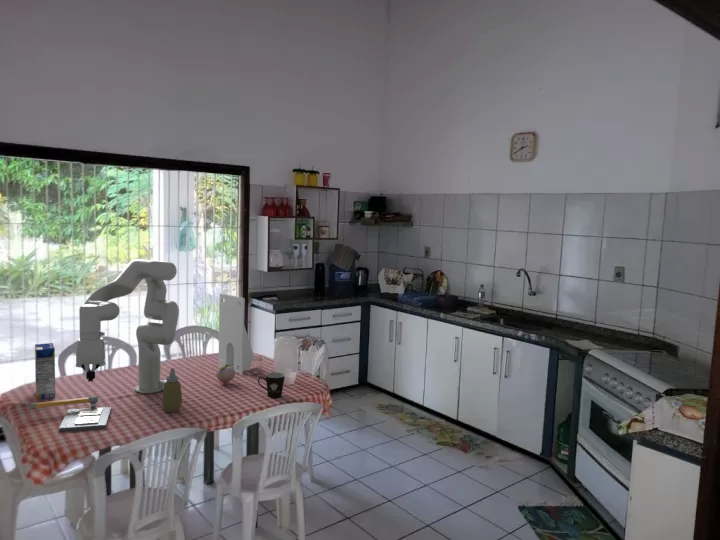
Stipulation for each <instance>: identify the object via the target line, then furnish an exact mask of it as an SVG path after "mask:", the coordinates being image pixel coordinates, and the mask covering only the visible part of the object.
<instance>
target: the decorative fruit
mask: <svg viewBox="0 0 720 540" xmlns="http://www.w3.org/2000/svg"><path fill="white" fill-rule="evenodd" d="M235 375H236V373H235V371H234V367H231V366H230V365H226V364H225V366H223V367H221V368H220V367H219V368H218V369H217V371H216V378H217V379H218V381H219V382H220V383H221V384H224V385H226V384H227V383H230V382H231V381H232V380H234V378H235ZM225 383H226V384H225Z"/></svg>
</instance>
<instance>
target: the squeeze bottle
mask: <svg viewBox="0 0 720 540" xmlns="http://www.w3.org/2000/svg"><path fill="white" fill-rule="evenodd" d="M166 380H167V382H165V383H164V385H163V386H164V389H163V390H162V391H163V392H162V400H161V403H162V407H163V410H164V412H166V413H177V412H179V411H180V408H181V406H182V403H183V397H182V386H181V385H182V384H181V382H180V381H179V376H178V375H176V372H175V368H170V371H169V375H168V376H167V377H166Z"/></svg>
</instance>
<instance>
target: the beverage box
mask: <svg viewBox="0 0 720 540" xmlns="http://www.w3.org/2000/svg"><path fill="white" fill-rule="evenodd" d="M55 351H56V350H55V346H54V343H52V342H51V343H50V342H49V343H38V344H34V357H35V358H34V362H35V363H34V366H35V370H34V371H35V372H34V373H35V374H34V376H35V396H36V400H37V401H40V399H42V400H48V398H50V399H56V360H55V359H56V358H55V357H56V356H55V355H56V354H55ZM46 398H47V399H46Z"/></svg>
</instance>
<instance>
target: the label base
mask: <svg viewBox="0 0 720 540" xmlns="http://www.w3.org/2000/svg"><path fill="white" fill-rule="evenodd" d="M111 412H112V406H104V407H97V402H96V403H90V407H89V408H86V407H85V408H72V409H67V411H66V413H65V415H64V417H63V420H62V421H61V423H60V425H59V427H58V433H65V432H76V431H77V432H78V431H89V430H90V431H91V430H103V429H104V430H105V429H107V425H108V423H109V419H110V417H111V416H110V415H111Z"/></svg>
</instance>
